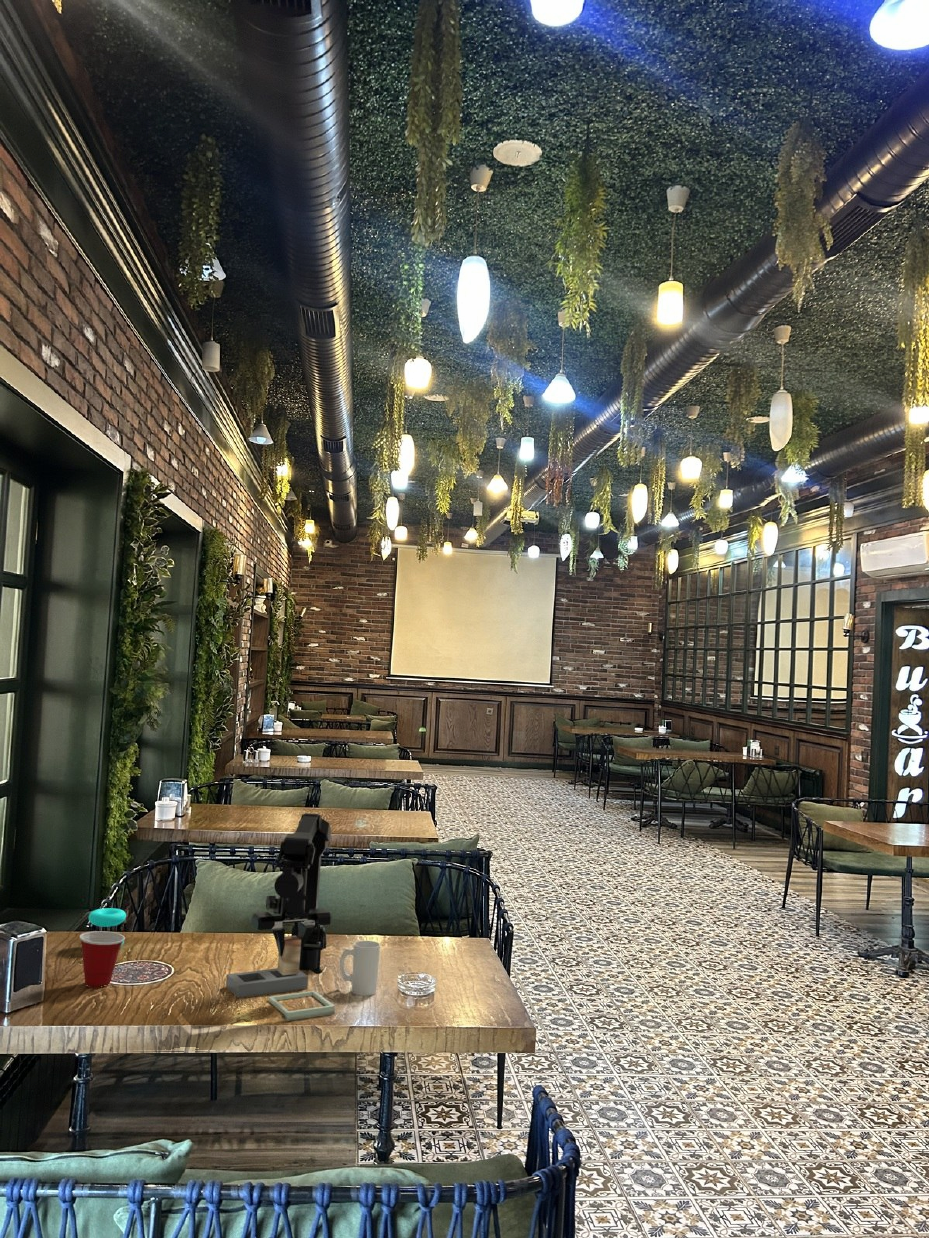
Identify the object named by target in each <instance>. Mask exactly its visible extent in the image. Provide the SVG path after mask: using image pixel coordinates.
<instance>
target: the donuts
mask: <svg viewBox="0 0 929 1238" xmlns="http://www.w3.org/2000/svg"><path fill="white" fill-rule="evenodd" d="M126 918H127V913H126V912H125V911H124V910H123V909H120V908H114V907H113V908H112V907H110V908H109V907H108V908H107V907H106V908H104V907H103V908H98V909H94V910H91V912H90V913H89V914H88V918H87V919H88V921H89V923H90V924H92V925H94V926H95V927H103V928H104V927H106V928H108V927H115V926H118V925H120V924H123V922H124V921H125V920H126ZM113 932H114V933H116V932H115V931H113ZM124 943H125V940H124V941H123V943H122V945H121V947H123V945H124Z"/></svg>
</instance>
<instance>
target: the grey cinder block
mask: <svg viewBox="0 0 929 1238" xmlns="http://www.w3.org/2000/svg"><path fill="white" fill-rule="evenodd" d="M277 969H278V967H277V968H269V969H268V968H267V969H262V970H261V969H260V970H252V971H245V972H237V973H236V972H235V973H228V974H226V980H225V981H226V982H225V988H227V989H228V990H229V991H230V992H231V993H232V994H233V995H234V996H235V997H237V998H238V999H239V998H241V999H242V998H248V997H249V998H250V997H255V996H264V995H270V994H278V993H286V992H293V991H300V990H307V989H308V982H309V981H308V979H309V976H308V975H307V974H305V973H304V972H303V971H302V970H299V974H291V975H282V974H281V973H280V972H278V971H277Z"/></svg>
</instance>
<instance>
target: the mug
mask: <svg viewBox="0 0 929 1238" xmlns="http://www.w3.org/2000/svg"><path fill="white" fill-rule="evenodd" d="M380 950H381V943H379V942H377V941H373V940H358V941H355V942H354V943H353V949H350V947H349V948H348V947H345V948H344V951H343V952H342V954H341V956H340V959H339V970H340V974H341V976H342V979H343V981H345V982H347V981H348V982H351V993H352V994H353V995H356V996H360V997H367V996H368V997H370V996H373V995H376V993H377V987H378V986H377V985H378V979H379V978H378V977H379V976H378V975H379V963H380V952H381V951H380ZM349 955H350V956H352V959H353V960H352V973H351V974H348V973H347V972H346V970H345V966H344V963H345V959H346V958H347V956H349Z"/></svg>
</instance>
